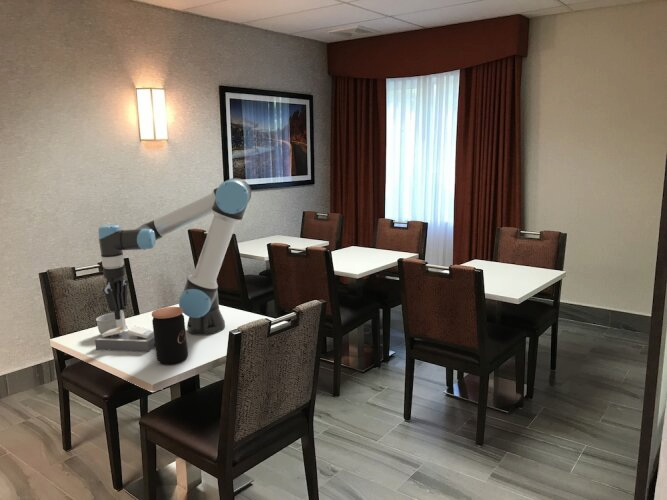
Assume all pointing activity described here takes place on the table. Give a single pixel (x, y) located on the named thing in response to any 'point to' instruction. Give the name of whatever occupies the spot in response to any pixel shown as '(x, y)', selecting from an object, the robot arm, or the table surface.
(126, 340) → the power strip
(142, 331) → the white flat packet
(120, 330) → the rocker amber
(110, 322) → the teacup
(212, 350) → the table surface
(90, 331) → the table surface
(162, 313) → the coffee jar
